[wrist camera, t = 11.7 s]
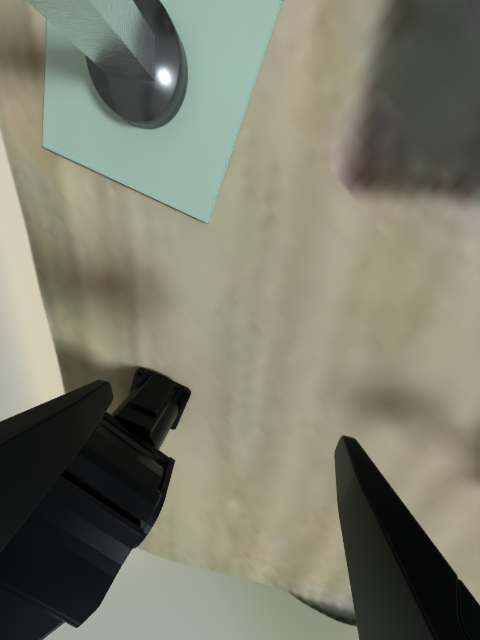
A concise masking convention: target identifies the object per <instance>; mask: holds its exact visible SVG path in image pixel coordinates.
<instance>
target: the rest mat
mask: <svg viewBox="0 0 480 640" xmlns="http://www.w3.org/2000/svg"><path fill="white" fill-rule="evenodd" d="M160 1H161V3H162V4H163V6H164V7H165V9H166V11H167V12H168V14H169V16H170V18H171V20H172V22H173V24H174V26H175V28H176V30H177V32H178V34H179V36H180V39H181V41H182V43H183V46H184V50H185V53H186V58H187V65H188V84H187V90H186V94H185V98H184V101H183V103H182V106H181V108H180V109H179V111H178V113H177V114H176V116H175V117H174V118H173V119H172V120H171V121H170V122H169V123H167V124H166V125H164V126H162V127H160V128H157V129H142V128H139V127H136V126H134V125H132V124H131V123H129V122H128V121H127V120H125V119H124V118H122V117H121V116H120V115H118V114H117V113H116V112H114V111H113V110H112V109H111V108H110V107H109V106H108V105H107V104H106V103H105V102H104V101H103V100H102V98H101V97H100V95H99V94H98V92H97V90H96V88H95V86H94V84H93V82H92V79H91V77H90V74H89V71H88V66H87V62H86V55H85V54H84V53H83V52H82V51H81V50H80V49H79V48H78V47H77V46H75V45H74V44H73V43H72V42H71V41H70V40H69V39H68V38H67V37H66V36H65V35H64V34H62V33H61V32H60V31H59V30H58V29H57V28H56V27H55V26H54V25H53V24H52V23H50V22H49V21H48V20H47V35H46V63H45V91H44V119H43V147H45V148H47V149H49V150H51V151H53V152H56V153H58V154H60V155H62V156H64V157H66V158H68V159H71V160H73V161H75V162H77V163H79V164H81V165H83V166H86V167H88V168H90V169H92V170H94V171H96V172H98V173H101V174H103V175H105V176H107V177H109V178H111V179H113V180H116V181H118V182H120V183H122V184H124V185H126V186H128V187H131V188H133V189H135V190H137V191H139V192H141V193H143V194H145V195H148V196H150V197H152V198H154V199H156V200H158V201H160V202H163V203H165V204H167V205H169V206H171V207H173V208H175V209H178V210H180V211H182V212H184V213H186V214H188V215H190V216H193V217H195V218H197V219H199V220H201V221H203V222H205V223H209V220H210V217H211V214H212V211H213V208H214V205H215V202H216V199H217V196H218V193H219V190H220V187H221V184H222V181H223V178H224V175H225V172H226V169H227V166H228V163H229V160H230V157H231V154H232V151H233V148H234V145H235V142H236V139H237V136H238V133H239V130H240V127H241V124H242V121H243V118H244V115H245V112H246V109H247V106H248V103H249V100H250V97H251V94H252V91H253V88H254V85H255V82H256V79H257V76H258V73H259V70H260V67H261V64H262V61H263V58H264V55H265V52H266V49H267V46H268V43H269V40H270V37H271V34H272V31H273V28H274V25H275V22H276V19H277V16H278V13H279V10H280V7H281V4H282V1H283V0H160Z"/></svg>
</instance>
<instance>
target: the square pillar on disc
mask: <svg viewBox="0 0 480 640" xmlns="http://www.w3.org/2000/svg"><path fill="white" fill-rule="evenodd" d="M27 1H28V2H29V3H30V4H31V5H32V6H33V7H34V8H35V9H36V10H37V11H39V12H40V13H41V14H42V15H43V16H44V17H45V18H46V19H47V20H48V21H49V22H50V23H52V24H53V25H54V26H55V27H56V28H57V29H58V30H59V31H60V32H61V33H62V34H64V35H65V36H66V37H67V38H68V39H69V40H70V41H71V42H72V43H73V44H74V45H75V46H77V47H78V48H79V49H80V50H81V51H82V52H83V53H84V54H85V55H86V62H87V66H88V71H89V74H90V77H91V79H92V82H93V84H94V86H95V88H96V90H97V92H98V94H99V95H100V97H101V98H102V100H103V101H104V102H105V103H106V104H107V105H108V106H109V107H110V108H111V109H112V110H113V111H114V112H116V113H117V114H118V115H120V116H121V117H122V118H124V119H125V120H127V121H128V122H129V123H131V124H132V125H134V126H136V127H139V128H142V129H157V128H160V127H162V126H164V125H166V124H167V123H169V122H170V121H171V120H172V119H173V118H174V117H175V116H176V114H177V113H178V111H179V109H180V108H181V106H182V103H183V101H184V98H185V94H186V90H187V84H188V65H187V58H186V53H185V50H184V46H183V43H182V41H181V39H180V36H179V34H178V32H177V30H176V28H175V26H174V24H173V22H172V20H171V18H170V16H169V14H168V12H167V11H166V9H165V7H164V6H163V4H162V3H161V1H160V0H27Z"/></svg>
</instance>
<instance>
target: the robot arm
mask: <svg viewBox="0 0 480 640" xmlns="http://www.w3.org/2000/svg"><path fill="white" fill-rule="evenodd" d="M140 372H141V373H142V374H141V373H140ZM186 393H187V394H186ZM190 395H191V391H190V390H189V389H187V388H185V387H183V386H181V385H179V384H176V383H174V382H172V381H170V380H167V379H165V378H163V377H161V376H159V375H156V374H154V373H152V372H150V371H147V370H145V369H143V368H139V369H138V370H137V371H136V372H135V376H134V379H133V383H132V387H131V390H130V394H129V395H128V396H127V397H126V399H125V400H124V401H123V402H122V403H121V404H120V405H119V406H118V408H117V409H116V410H115V411H114V412H113V413H112V414H111V415H110V414H109V413H107V412H106V411H107V409H108V408H109V406H110V404H111V403H112V401H113V392H112V388H111V384H110V382H108V381H104V380H97V381H95V382H92V383H90V384H88V385H85V386H83V387H81V388H78V389H76V390H74V391H71V392H69V393H67V394H64V395H62V396H59V397H57V398H55V399H52V400H50V401H48V402H46V403H43V404H41V405H38V406H36V407H34V408H31V409H29V410H27V411H24V412H22V413H20V414H17V415H15V416H13V417H10V418H8V419H6V420H3V421H1V422H0V640H43V639H44V638H45V637H47V636H48V635H49V634H50V633H52V632H53V631H54V630H56V629H57V628H58V627H59V626H61V625H62V624H63V623H64V622H66V623H68V624H69V625H71V626H73V627H75V628H77V627H79V626H80V625H81V624H82V623H83V622H84V621H85V620H86V619H87V618H88V617H89V616H90V615H91V614H92V613H93V612H94V611H96V609H97V608H98V607H99V606H100V604H101V602H102V601H103V599H104V597H105V595H106V593H107V591H108V590H109V588H110V586H111V584H112V582H113V580H114V579H115V577H116V575H117V573H118V571H119V569H120V568H121V566H122V564H123V563H124V561H125V560H126V558H127V556H128V555H129V553H130V551H131V550H132V549H134V548H136V547H137V546H139V545H140V543H141V542H142V541H143V540H144V539H145V537H146V536H147V535H148V533H149V532H150V530H151V528H152V527H153V525H154V523H155V521H156V520H157V518H158V516H159V514H160V511H161V509H162V506H163V504H164V501H165V497H166V493H167V489H168V486H169V482H170V478H171V474H172V470H173V467H174V463H175V460H174V459H172V458H171V457H170V458H169V457H168V456H166V455H165V454H164V453H162V452H161V451H159V449H160V447H161V445H162V443H163V441H164V439H165V437H166V436H167V434H168V432H169V430H170V429H172V430H174V429H176V427H177V425H178V423H179V420H180V418H181V416H182V413H183V411H184V409H185V406H186V404H187V402H188V400H189V397H190ZM335 472H336V488H337V502H338V511H339V518H340V524H341V530H342V537H343V543H344V549H345V555H346V561H347V567H348V573H349V579H350V585H351V592H352V598H353V604H354V610H355V616H356V622H357V628H358V634H359V640H480V605H479V604H478V602H477V601H476V600H475V598H474V597H473V596H472V594H471V593H470V592H469V590H468V589H467V588H466V586H465V585H464V584H463V582H462V581H461V580H460V579H458V576H457V574H456V573H455V572H454V570H453V569H452V568H451V566H450V565H449V564H448V562H447V561H446V560H445V558H444V557H443V556H442V554H441V553H440V552H439V550H438V549H437V548H436V546H435V545H434V543H433V542H432V541H431V539H430V538H429V537H428V535H427V534H426V533H425V531H424V530H423V529H422V527H421V526H420V525H419V523H418V522H417V521H416V519H415V518H414V517H413V515H412V514H411V513H410V511H409V510H408V509H407V507H406V506H405V505H404V503H403V502H402V501H401V499H400V498H399V496H398V495H397V494H396V492H395V491H394V490H393V488H392V487H391V486H390V484H389V483H388V482H387V480H386V479H385V478H384V476H383V475H382V474H381V472H380V471H379V470H378V468H377V467H376V466H375V464H374V463H373V462H372V460H371V459H370V458H369V456H368V455H367V453H366V452H365V451H364V449H363V448H362V447H361V445H360V444H359V443H358V441H357V440H356V439H355V438H353V437H349V436H344V435H343V436H341V438H340V440H339V442H338V445H337V447H336V449H335Z"/></svg>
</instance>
